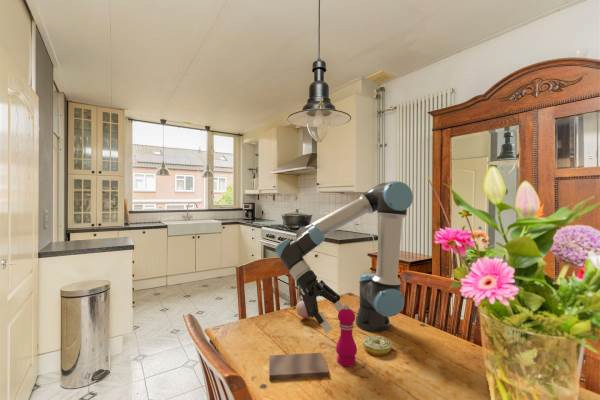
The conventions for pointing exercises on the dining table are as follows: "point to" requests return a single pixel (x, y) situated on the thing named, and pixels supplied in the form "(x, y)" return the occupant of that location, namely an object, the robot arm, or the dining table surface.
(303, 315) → the decorative fruit
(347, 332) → the pepper mill
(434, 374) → the dining table surface
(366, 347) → the decorated donut
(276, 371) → the walnut stand
